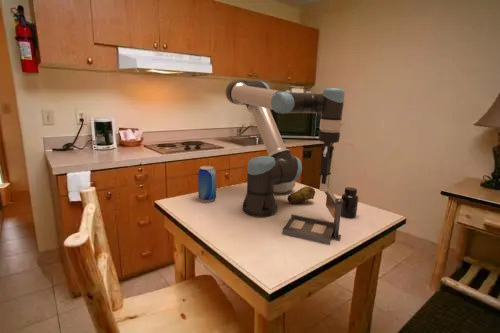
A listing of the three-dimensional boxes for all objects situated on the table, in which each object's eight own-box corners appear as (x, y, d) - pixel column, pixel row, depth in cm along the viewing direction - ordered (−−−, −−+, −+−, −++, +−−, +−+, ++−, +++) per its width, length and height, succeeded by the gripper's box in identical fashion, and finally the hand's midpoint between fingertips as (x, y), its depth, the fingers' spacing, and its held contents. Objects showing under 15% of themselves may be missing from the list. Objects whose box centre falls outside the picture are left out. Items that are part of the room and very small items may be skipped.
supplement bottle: (357, 219, 119) (360, 192, 116) (340, 217, 120) (343, 190, 117) (354, 212, 125) (358, 187, 122) (338, 211, 127) (341, 185, 124)
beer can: (219, 199, 137) (219, 167, 133) (208, 204, 130) (208, 170, 126) (206, 195, 142) (206, 164, 138) (194, 200, 135) (194, 167, 131)
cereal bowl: (280, 184, 164) (281, 172, 162) (301, 192, 151) (302, 179, 149) (257, 189, 154) (257, 176, 152) (277, 198, 141) (278, 184, 139)
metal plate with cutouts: (282, 234, 104) (282, 226, 103) (291, 221, 115) (291, 214, 114) (329, 244, 97) (330, 236, 96) (334, 230, 108) (335, 222, 107)
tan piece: (322, 202, 119) (324, 186, 117) (327, 202, 119) (328, 186, 117) (333, 220, 102) (335, 201, 100) (338, 220, 102) (340, 202, 100)
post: (329, 238, 101) (333, 200, 98) (330, 234, 104) (334, 197, 101) (339, 241, 100) (344, 202, 96) (340, 236, 103) (345, 199, 100)
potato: (287, 198, 140) (288, 183, 139) (313, 200, 139) (315, 185, 137) (287, 204, 132) (288, 188, 131) (315, 207, 131) (316, 190, 129)
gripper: (337, 133, 99) (330, 197, 105) (342, 130, 110) (335, 187, 116) (316, 131, 102) (310, 194, 108) (322, 128, 113) (317, 184, 119)
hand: (323, 190), depth 112 cm, fingers closed
